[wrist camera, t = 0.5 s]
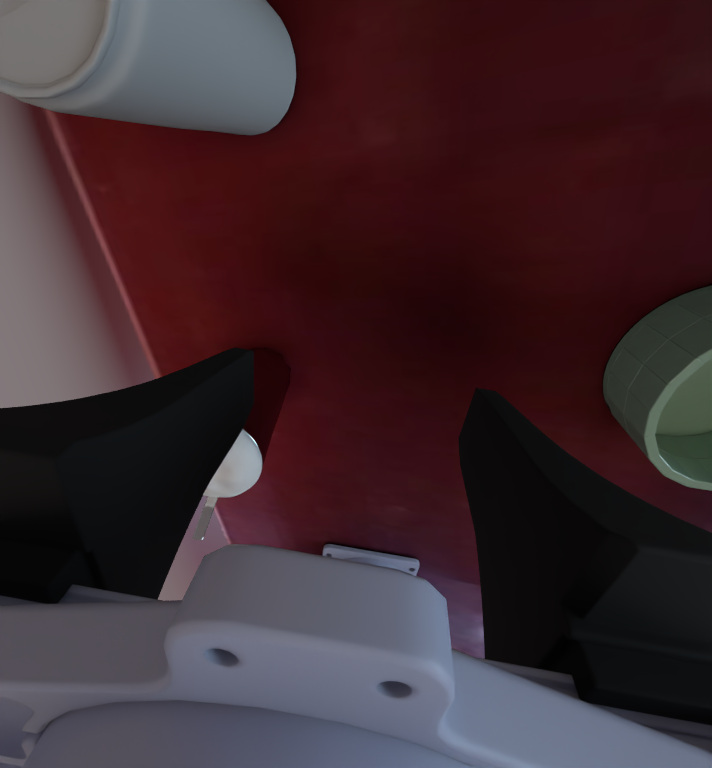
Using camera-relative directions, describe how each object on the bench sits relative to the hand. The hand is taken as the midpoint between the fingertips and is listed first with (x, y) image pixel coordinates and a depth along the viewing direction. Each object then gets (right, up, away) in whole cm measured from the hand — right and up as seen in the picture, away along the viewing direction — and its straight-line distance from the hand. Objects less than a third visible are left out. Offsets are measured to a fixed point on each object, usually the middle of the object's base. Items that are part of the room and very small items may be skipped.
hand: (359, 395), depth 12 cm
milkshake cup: (-6, +1, +12) cm, 13 cm away
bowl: (+19, +1, +8) cm, 20 cm away
